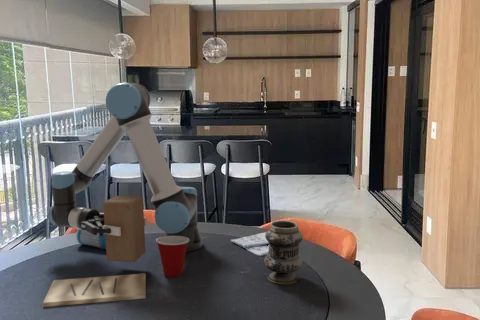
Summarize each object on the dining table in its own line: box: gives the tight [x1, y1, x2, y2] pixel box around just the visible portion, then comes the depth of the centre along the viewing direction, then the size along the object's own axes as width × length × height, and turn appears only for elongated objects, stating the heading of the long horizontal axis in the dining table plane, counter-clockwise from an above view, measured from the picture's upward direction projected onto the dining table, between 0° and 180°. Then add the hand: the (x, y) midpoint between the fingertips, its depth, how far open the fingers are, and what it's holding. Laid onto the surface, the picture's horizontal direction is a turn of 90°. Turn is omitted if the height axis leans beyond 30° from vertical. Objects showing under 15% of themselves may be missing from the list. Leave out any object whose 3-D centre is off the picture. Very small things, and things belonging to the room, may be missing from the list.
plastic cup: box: [155, 235, 189, 278], centre depth 156 cm, size 11×11×12 cm
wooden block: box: [102, 195, 146, 263], centre depth 158 cm, size 10×10×20 cm
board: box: [42, 272, 147, 308], centre depth 144 cm, size 28×16×1 cm, turn 101°
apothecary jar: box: [263, 220, 304, 285], centre depth 151 cm, size 12×12×18 cm
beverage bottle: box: [75, 229, 106, 250], centre depth 183 cm, size 8×8×20 cm
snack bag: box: [230, 231, 269, 257], centre depth 185 cm, size 19×20×2 cm
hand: (133, 226), depth 156 cm, fingers closed on wooden block, 12 cm apart
